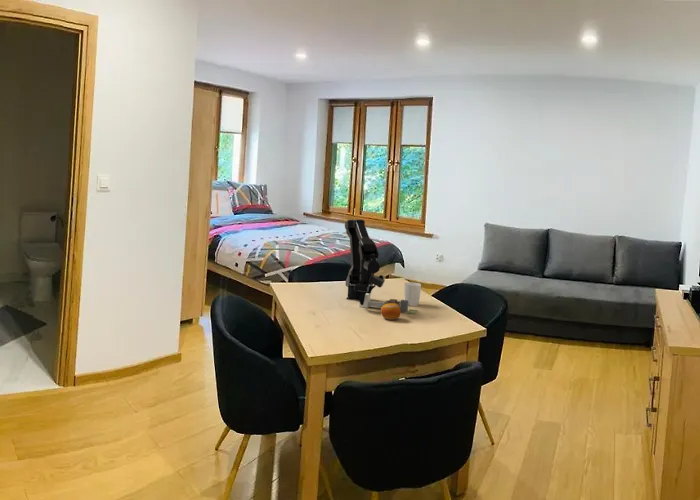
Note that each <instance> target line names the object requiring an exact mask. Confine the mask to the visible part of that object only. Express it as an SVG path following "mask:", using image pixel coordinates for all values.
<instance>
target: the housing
mask: <svg viewBox="0 0 700 500" xmlns="http://www.w3.org/2000/svg"><path fill="white" fill-rule="evenodd" d="M400 301H401V300H399V301H398V299H395V298H390V299H389V300H388V299H387V300H386V301H385V303H384V305H385V304H388V303H395V304H397V305H398V304H399V307H400ZM410 311H413V312H410ZM416 312H419V310H417V309H408V311H407V312H406V314H408V315H409V314H411V315H416Z"/></svg>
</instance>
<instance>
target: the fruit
mask: <svg viewBox="0 0 700 500" xmlns="http://www.w3.org/2000/svg"><path fill="white" fill-rule="evenodd" d="M401 313H402V312H401V309H400V307H399V305H397V304H395V303H388V304H385V305H383V306H382V307H380V315H381V316H382V318H384V319H385V320H389V321H394V320H397V319H399V318H400V317H401Z"/></svg>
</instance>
